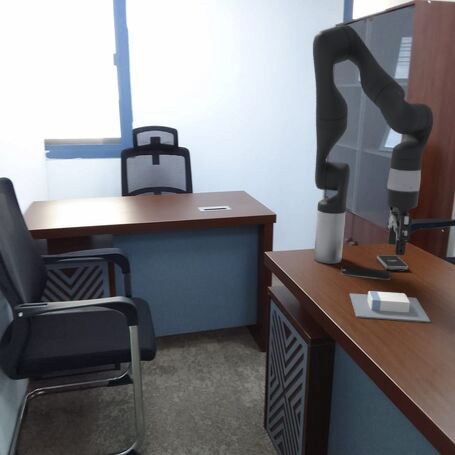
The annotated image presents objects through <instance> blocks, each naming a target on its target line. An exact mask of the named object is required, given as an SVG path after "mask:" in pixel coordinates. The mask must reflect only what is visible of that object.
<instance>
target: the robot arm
mask: <svg viewBox="0 0 455 455" xmlns="http://www.w3.org/2000/svg"><path fill="white" fill-rule="evenodd" d="M312 56H313V58H312V59H313V60H312V61H313V68H314V78H315V133H316V135H315V136H316V154H315V157H316V158H315V170H314V184H315V186H316V188H317V189H318V190H322V191H331V192H332V191H334V192H336V194H335V195H333V196H331V197H328V198H324V199H322V200H321V199H320V200H319V201H318V203H317V210H316V211H317V212H316V222H315V223H316V225H315V238H314V240H315V241H314V253H313V259H314V260H315V261H316V262H318V263H322V264H327V265H328V264H329V265H330V264H331V265H332V264H339V263H341V262H342V258H343V246H344V234H345V233H344V232H345V221H346V210H347V199H348V198H347V197H348V189H349V183H350V176H351V170H350V165H349V164H348V163H346V162H337V161H334V162H333V161H327V158H328V157H329V154H331V153H330V152H331V151H332V149H333V148H334V147H335V145H336V144H337V143H338V142H339V141H340V140H341V138H342V137H343V136H344V134H345V132H346V130H347V129H348V128H347V127H348V116H349V115H348V114H349V113H348V110H349V106H348V104H347V101H346V99H345V98H344V95H342V93H341V92H340V91H339V89H338V87H337V86H336V84H335V78H334V68H335V67H334V66H335V65H336V64H339V63H342V62H346V61H347V60H348V61H350V62H351V63H353V64H354V65H355V66H356V67H357V69H358V72H359V81H360V82H359V83H360V86H361V89H362V91H363V92H364V94H365V95H366V97H367V98H368V99H370V101H371V102H372V103H373V104H374V105H375V106H376V107H377V109H379V111H380V113H381V115H382V117H383V118H384V120H385V122H386V124H387V126H388V127H389V128H390V129H391V130H392V131H393V132H396V133H397V134H400V135H403V137H402V140H401V142H399V143H397V144H396V145H394V146H393V148H392V151H391V160H390V169H389V173H388V177H387V186H386V194H385V195H386V196H385V205H386V206H388V207H389V208H388V216H387V222H386V224H387V226H388V239H387V243H388V244H389V245H392V246H395V248H394V254H395V255H396V256H404V255H405V253H406V245H407V241H410V239H411V230H412V222H413V216H411V215H410V214H409V211H410V209H416V208H417V207H418V202H419V196H420V187H421V180H422V179H421V178H422V177H421V176H422V175H421V174H422V173H421V172H422V163H423V156H424V151H425V149H426V146H427V143H428V141H429V138H430V136H431V133H432V130H433V127H434V112H433V111H432V109H431V107H429V106H428V105H427V104H425V103H410V102H408V101H406V100H405V97H406V92H405V89H404V88H403V86H401V85H400V84H399V82H397V81H396V80H395V79H394V78H393V77H392V76H391V75H390V74H388V72H387V71H386V70H385V69H384V68H383V67H382V66H381V65H380V64H379V62H378V61H377V60H376V58H375V57H374V55H373V54H372V52H371V51H370V49H369V47H368V46H367V45H366V43H365V42H364V40H362V38H361V36H360V35H359V34H358V32H357V31H356V30H355V29H354V28H353V27H352V26H350V25H348V24H340V25H336V26H333V27H330V28H326V29H323V30H320V31H318V32H317V33H316V34H315V36H314V38H313V42H312Z"/></svg>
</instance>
